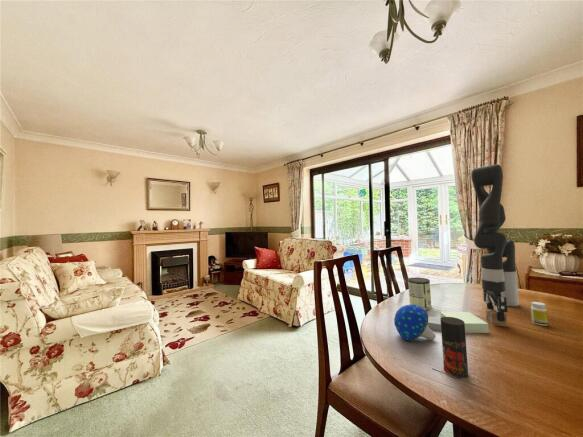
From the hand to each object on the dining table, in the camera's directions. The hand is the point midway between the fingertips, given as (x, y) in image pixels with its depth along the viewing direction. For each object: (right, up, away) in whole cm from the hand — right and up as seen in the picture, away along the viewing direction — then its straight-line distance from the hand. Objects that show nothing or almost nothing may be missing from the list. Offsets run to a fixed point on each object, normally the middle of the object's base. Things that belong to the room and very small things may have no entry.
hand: (495, 317), depth 99 cm
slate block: (-26, -4, 0) cm, 26 cm away
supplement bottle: (+17, -2, -2) cm, 17 cm away
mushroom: (-40, -4, -9) cm, 41 cm away
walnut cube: (0, -3, 0) cm, 3 cm away
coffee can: (-19, -5, +24) cm, 31 cm away
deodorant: (-38, -4, -30) cm, 49 cm away
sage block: (-15, -4, -1) cm, 15 cm away
